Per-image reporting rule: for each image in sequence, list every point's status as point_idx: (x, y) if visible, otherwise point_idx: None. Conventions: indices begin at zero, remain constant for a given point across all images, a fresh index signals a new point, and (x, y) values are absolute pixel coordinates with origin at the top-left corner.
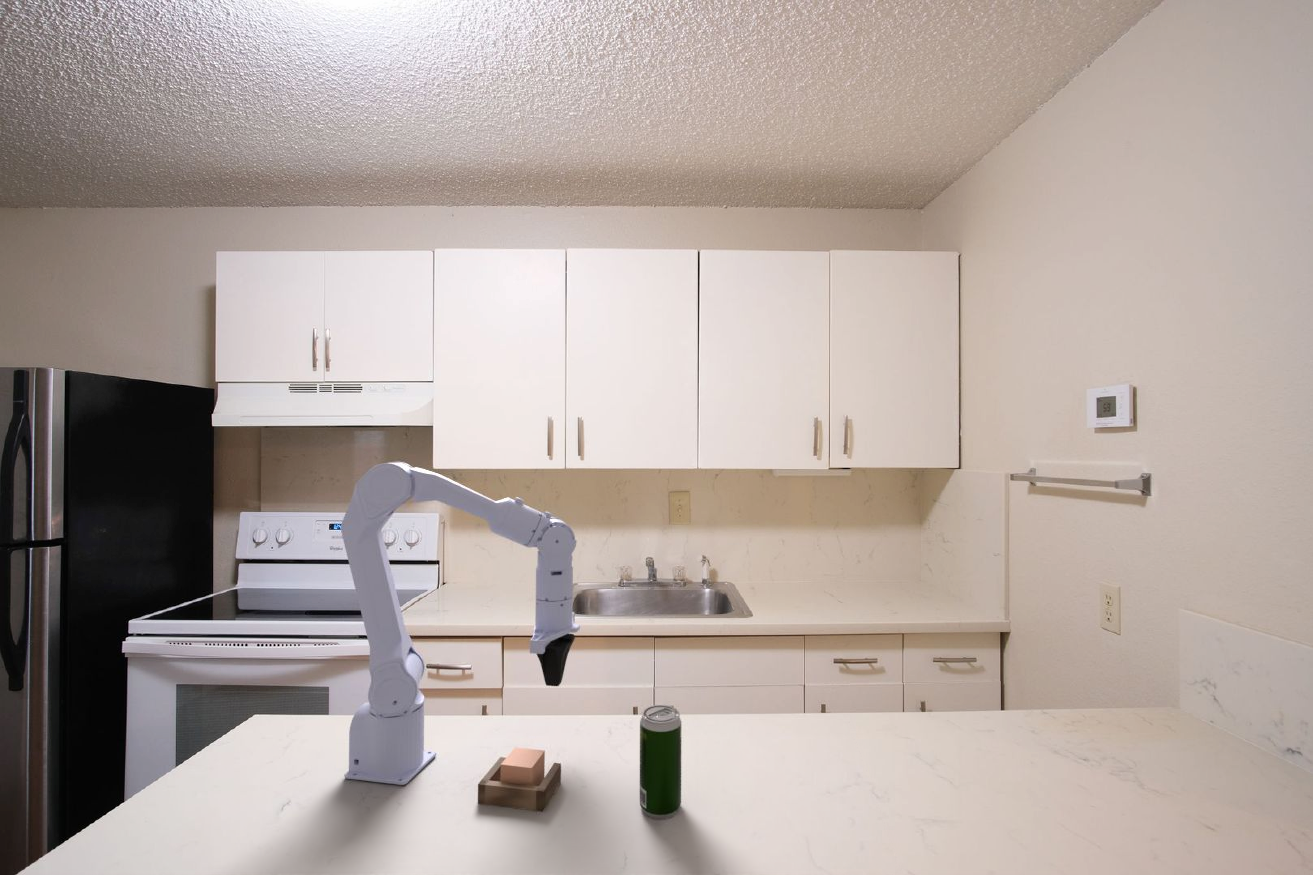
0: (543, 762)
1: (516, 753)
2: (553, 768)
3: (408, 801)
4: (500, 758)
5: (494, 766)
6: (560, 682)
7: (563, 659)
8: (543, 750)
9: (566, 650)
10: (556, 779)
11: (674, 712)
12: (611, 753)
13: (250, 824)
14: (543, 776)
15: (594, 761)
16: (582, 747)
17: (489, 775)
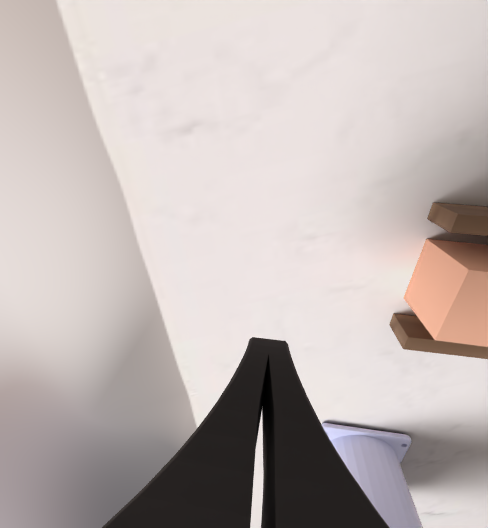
0: (461, 258)
1: (468, 330)
2: (480, 227)
3: (452, 419)
4: (409, 347)
5: (442, 350)
6: (263, 341)
7: (292, 445)
8: (466, 272)
9: (290, 514)
10: (480, 210)
11: None
12: (301, 95)
13: (467, 525)
14: (441, 244)
15: (343, 138)
16: (276, 187)
17: (479, 350)
